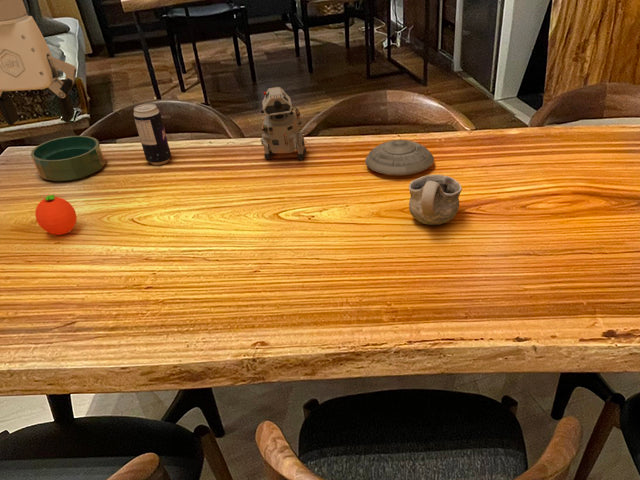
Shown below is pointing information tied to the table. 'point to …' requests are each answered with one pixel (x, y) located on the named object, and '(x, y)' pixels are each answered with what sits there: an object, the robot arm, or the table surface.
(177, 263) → the table surface
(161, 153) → the beverage can
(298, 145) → the figurine
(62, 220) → the clementine
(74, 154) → the bowl
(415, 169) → the flying saucer
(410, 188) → the mug
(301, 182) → the table surface
